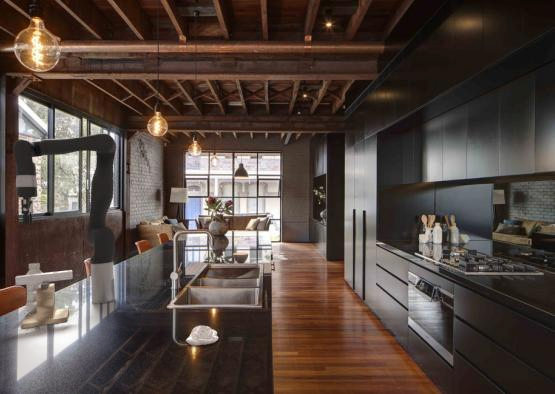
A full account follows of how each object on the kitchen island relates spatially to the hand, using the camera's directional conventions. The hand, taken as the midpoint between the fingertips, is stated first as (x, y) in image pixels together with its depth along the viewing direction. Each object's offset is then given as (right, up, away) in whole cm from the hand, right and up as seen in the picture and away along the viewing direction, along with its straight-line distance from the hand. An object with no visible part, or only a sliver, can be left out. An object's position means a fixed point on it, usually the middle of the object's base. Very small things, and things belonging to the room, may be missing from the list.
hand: (28, 223), depth 157 cm
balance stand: (+20, -35, -19) cm, 45 cm away
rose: (+85, -33, -46) cm, 102 cm away
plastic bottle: (+9, -36, -9) cm, 38 cm away
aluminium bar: (+19, -21, -19) cm, 34 cm away
